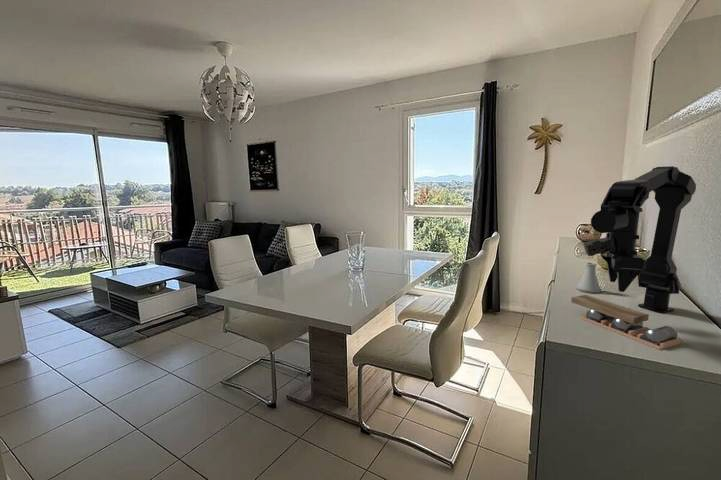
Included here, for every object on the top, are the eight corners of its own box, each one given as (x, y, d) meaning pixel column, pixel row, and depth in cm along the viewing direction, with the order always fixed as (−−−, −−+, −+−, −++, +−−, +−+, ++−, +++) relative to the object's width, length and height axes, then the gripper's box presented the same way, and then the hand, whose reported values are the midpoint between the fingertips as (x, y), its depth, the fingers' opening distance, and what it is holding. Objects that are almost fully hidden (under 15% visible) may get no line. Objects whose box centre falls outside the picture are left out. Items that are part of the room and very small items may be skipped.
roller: (675, 343, 84) (679, 330, 83) (656, 348, 81) (661, 335, 80) (658, 335, 87) (662, 323, 86) (641, 340, 84) (644, 327, 83)
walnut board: (585, 299, 104) (585, 294, 104) (648, 320, 88) (648, 314, 88) (571, 302, 102) (571, 297, 102) (632, 323, 86) (633, 317, 86)
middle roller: (630, 328, 93) (627, 315, 93) (644, 329, 90) (641, 315, 90) (612, 332, 91) (609, 318, 91) (626, 333, 87) (623, 319, 88)
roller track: (603, 314, 101) (603, 310, 101) (683, 343, 83) (684, 338, 83) (580, 318, 98) (581, 314, 98) (659, 349, 80) (660, 345, 80)
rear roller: (606, 320, 99) (601, 308, 100) (617, 317, 96) (612, 305, 97) (589, 323, 97) (584, 311, 98) (600, 321, 94) (594, 308, 95)
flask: (591, 294, 118) (594, 266, 116) (572, 288, 125) (574, 262, 123) (605, 291, 121) (608, 264, 119) (585, 286, 127) (587, 260, 126)
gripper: (581, 224, 101) (576, 274, 104) (594, 233, 84) (588, 293, 87) (627, 225, 97) (621, 278, 99) (650, 235, 80) (642, 299, 83)
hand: (616, 286), depth 92 cm, fingers open, 9 cm apart
